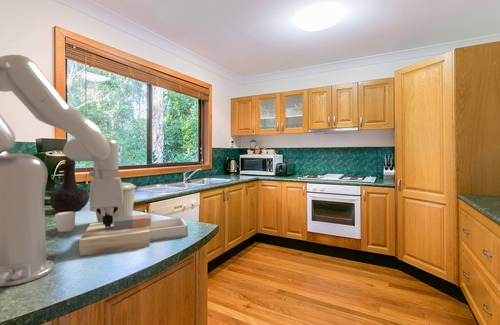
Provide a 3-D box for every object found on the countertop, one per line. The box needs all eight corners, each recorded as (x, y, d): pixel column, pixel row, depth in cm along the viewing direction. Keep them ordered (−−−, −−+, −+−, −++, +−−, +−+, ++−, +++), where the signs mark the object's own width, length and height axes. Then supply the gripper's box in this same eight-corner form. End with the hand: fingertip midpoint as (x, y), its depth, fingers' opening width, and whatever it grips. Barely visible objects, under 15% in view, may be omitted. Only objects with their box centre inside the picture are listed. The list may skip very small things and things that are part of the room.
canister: (96, 220, 120) (95, 176, 119) (138, 216, 126) (137, 174, 125) (87, 231, 103) (85, 179, 102) (135, 226, 109) (134, 178, 108)
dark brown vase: (51, 216, 128) (49, 161, 127) (48, 210, 141) (47, 160, 140) (92, 210, 140) (91, 160, 139) (86, 205, 153) (84, 159, 152)
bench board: (149, 246, 86) (149, 231, 86) (79, 256, 78) (79, 240, 78) (147, 229, 104) (147, 217, 104) (90, 236, 96) (90, 223, 96)
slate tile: (132, 227, 90) (132, 219, 90) (113, 230, 87) (113, 221, 87) (132, 223, 95) (132, 215, 95) (114, 225, 93) (114, 217, 93)
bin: (187, 236, 96) (187, 225, 96) (149, 241, 91) (149, 230, 90) (181, 226, 109) (181, 217, 109) (148, 230, 103) (148, 220, 103)
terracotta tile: (150, 225, 93) (150, 217, 92) (132, 227, 90) (132, 219, 90) (149, 221, 98) (149, 214, 98) (132, 223, 95) (132, 215, 95)
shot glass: (65, 232, 101) (64, 215, 101) (51, 231, 103) (50, 214, 102) (80, 227, 108) (79, 211, 108) (66, 226, 109) (66, 210, 109)
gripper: (79, 176, 82) (81, 232, 83) (129, 174, 88) (131, 226, 89) (83, 174, 89) (85, 226, 90) (130, 173, 95) (131, 221, 96)
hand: (108, 226), depth 90 cm, fingers closed
